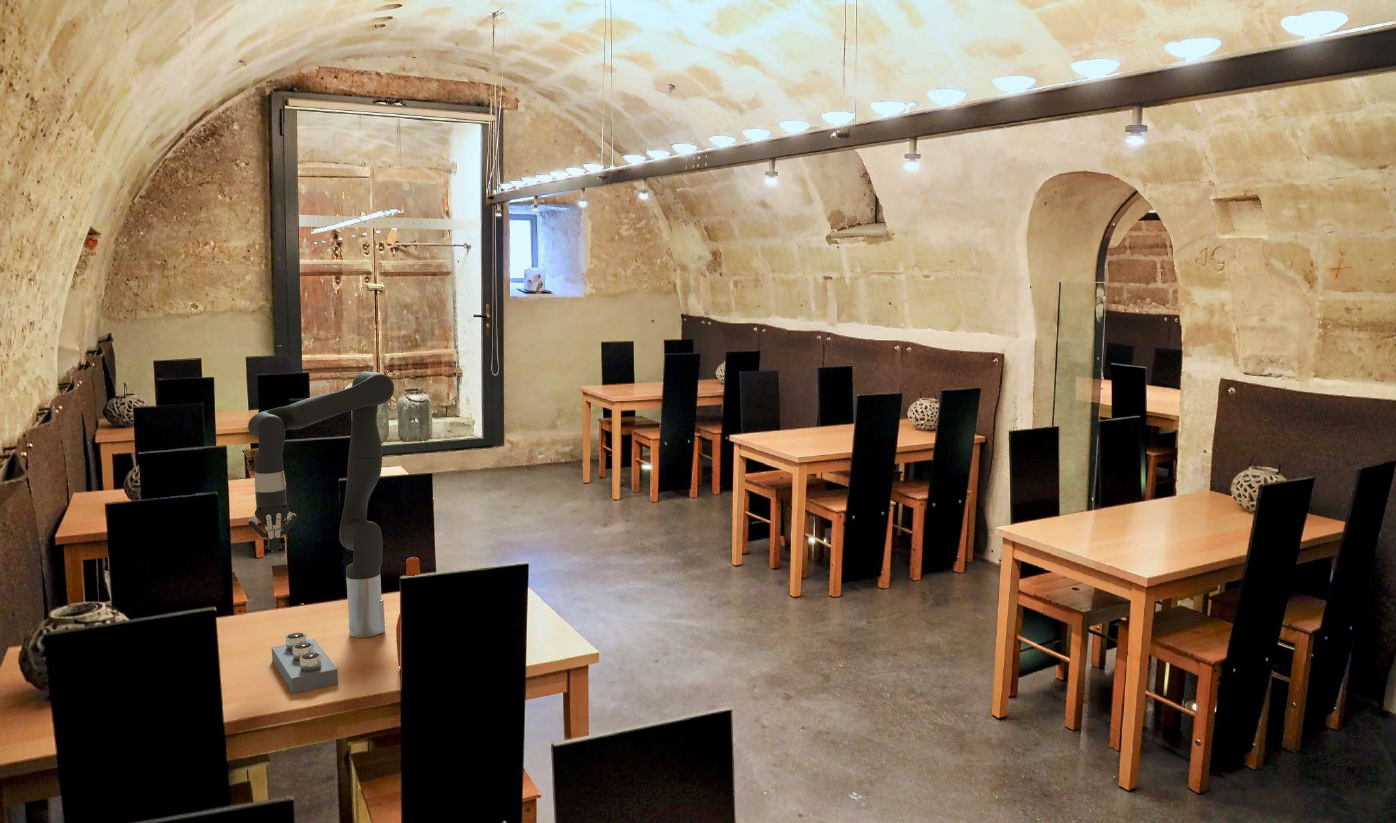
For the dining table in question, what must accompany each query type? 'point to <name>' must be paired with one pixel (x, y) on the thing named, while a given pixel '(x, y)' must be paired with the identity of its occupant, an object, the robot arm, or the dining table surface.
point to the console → (304, 679)
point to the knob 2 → (301, 649)
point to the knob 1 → (294, 639)
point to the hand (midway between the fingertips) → (274, 551)
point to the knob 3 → (310, 661)
